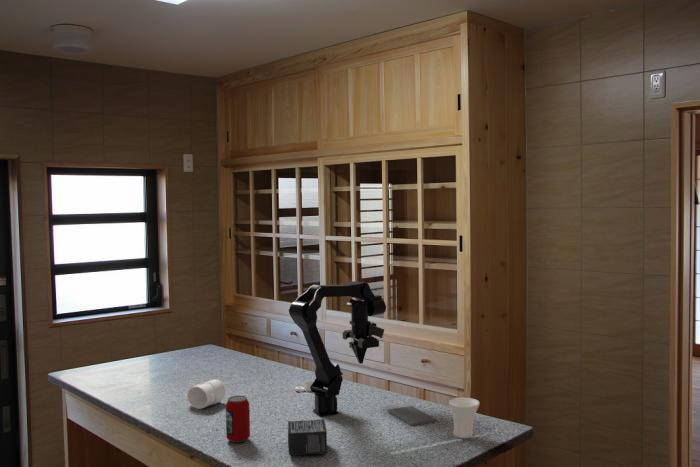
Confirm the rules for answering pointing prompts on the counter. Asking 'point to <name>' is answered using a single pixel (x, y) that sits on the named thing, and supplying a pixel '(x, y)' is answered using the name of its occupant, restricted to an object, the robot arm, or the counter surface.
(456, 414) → the cup
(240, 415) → the beverage can
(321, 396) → the robot arm
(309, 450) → the small box
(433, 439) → the counter surface
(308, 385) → the teacup and saucer
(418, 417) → the mat
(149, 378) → the counter surface
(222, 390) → the white cylinder
